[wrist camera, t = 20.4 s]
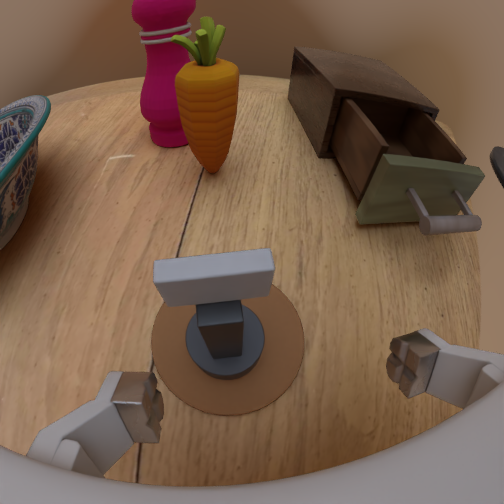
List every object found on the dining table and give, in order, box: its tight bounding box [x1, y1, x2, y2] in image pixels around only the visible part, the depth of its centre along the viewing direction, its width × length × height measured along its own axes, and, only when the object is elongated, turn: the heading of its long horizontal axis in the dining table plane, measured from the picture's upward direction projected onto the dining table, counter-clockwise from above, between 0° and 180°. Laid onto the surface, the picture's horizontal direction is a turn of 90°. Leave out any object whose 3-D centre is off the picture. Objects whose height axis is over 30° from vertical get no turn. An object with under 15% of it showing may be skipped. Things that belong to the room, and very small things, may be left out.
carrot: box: [171, 17, 239, 174], centre depth 20 cm, size 5×5×15 cm
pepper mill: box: [132, 0, 196, 147], centre depth 21 cm, size 7×7×20 cm
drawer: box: [329, 96, 485, 236], centre depth 23 cm, size 18×12×7 cm
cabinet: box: [288, 47, 439, 158], centre depth 29 cm, size 15×14×9 cm
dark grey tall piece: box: [153, 248, 275, 380], centre depth 12 cm, size 4×4×10 cm
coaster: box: [151, 284, 304, 415], centre depth 17 cm, size 10×10×1 cm
